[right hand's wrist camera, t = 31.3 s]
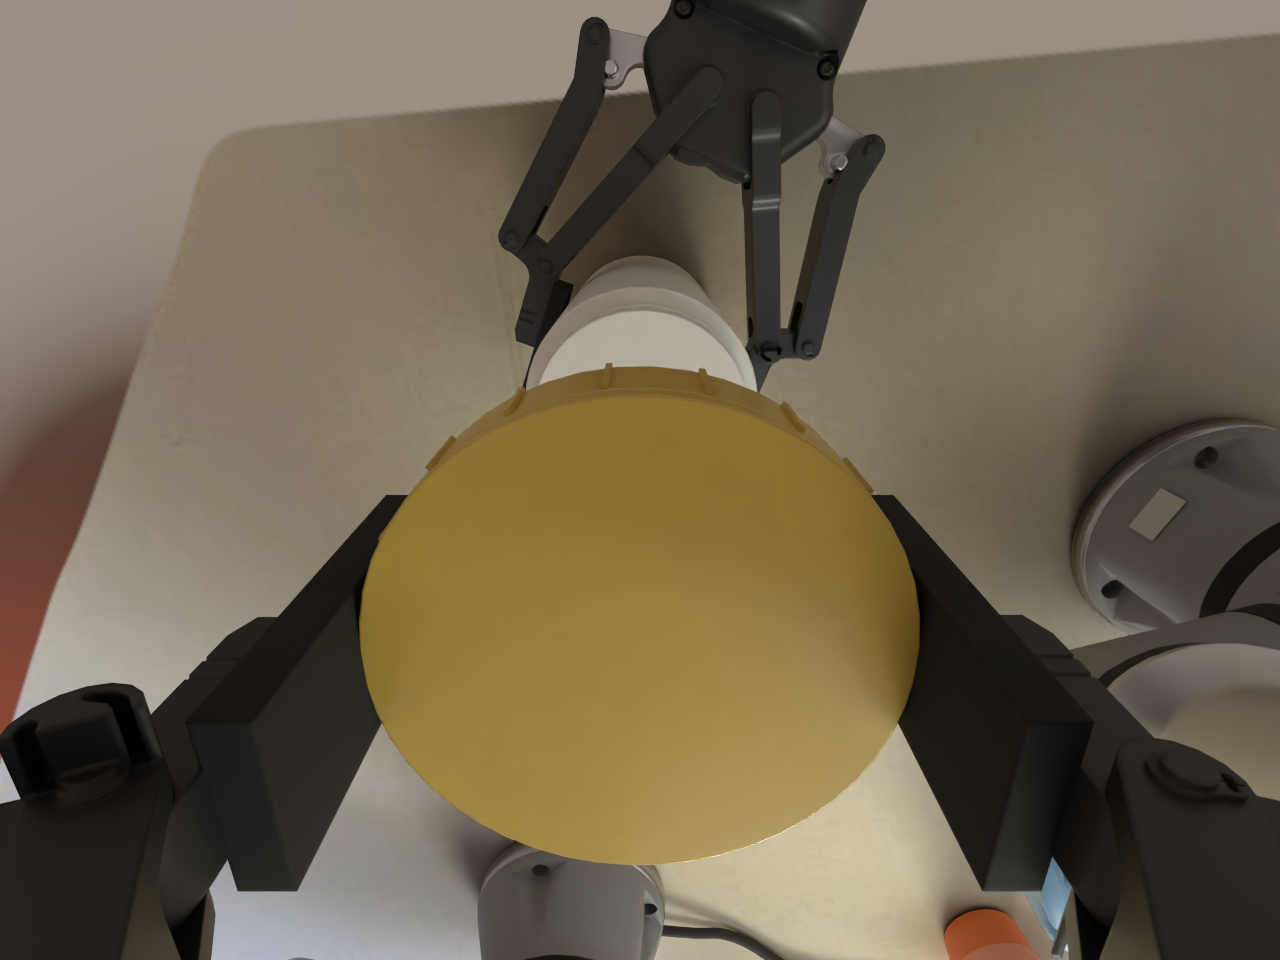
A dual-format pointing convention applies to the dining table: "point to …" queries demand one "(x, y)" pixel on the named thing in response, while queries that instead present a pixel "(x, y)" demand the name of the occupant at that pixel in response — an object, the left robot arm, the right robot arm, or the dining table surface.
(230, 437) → the dining table surface
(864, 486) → the lid
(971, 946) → the cup with straw
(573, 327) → the jar
